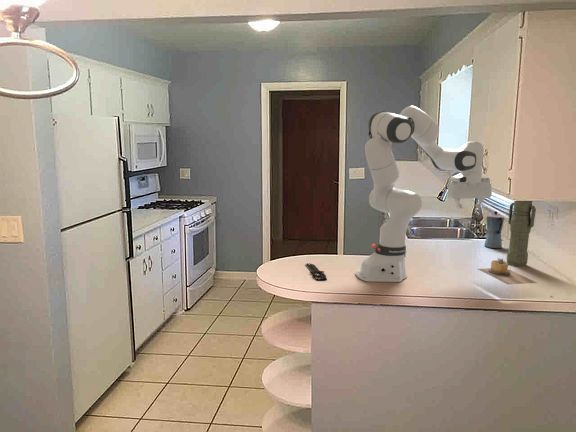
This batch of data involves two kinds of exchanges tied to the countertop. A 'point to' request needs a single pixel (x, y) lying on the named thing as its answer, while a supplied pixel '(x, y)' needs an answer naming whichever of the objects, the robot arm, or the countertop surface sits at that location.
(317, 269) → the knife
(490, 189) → the robot arm
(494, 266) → the coil ring
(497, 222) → the moka pot
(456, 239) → the countertop surface
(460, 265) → the countertop surface
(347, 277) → the countertop surface
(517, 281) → the bobbin board
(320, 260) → the countertop surface
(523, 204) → the thermos
